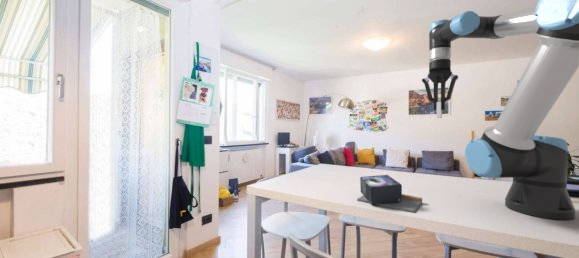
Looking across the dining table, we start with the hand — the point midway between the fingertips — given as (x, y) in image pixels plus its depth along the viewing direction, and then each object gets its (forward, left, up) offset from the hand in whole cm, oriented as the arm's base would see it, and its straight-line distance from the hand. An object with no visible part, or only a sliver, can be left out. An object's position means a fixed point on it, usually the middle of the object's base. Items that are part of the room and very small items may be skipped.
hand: (439, 117), depth 100 cm
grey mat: (+10, +31, -29) cm, 44 cm away
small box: (+16, +28, -24) cm, 40 cm away
